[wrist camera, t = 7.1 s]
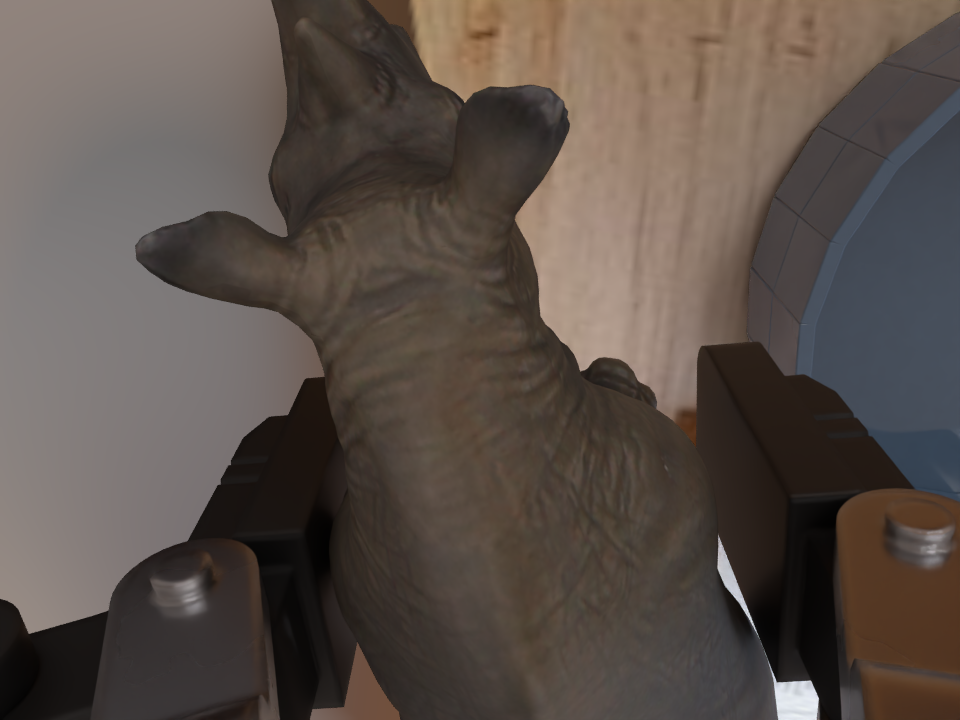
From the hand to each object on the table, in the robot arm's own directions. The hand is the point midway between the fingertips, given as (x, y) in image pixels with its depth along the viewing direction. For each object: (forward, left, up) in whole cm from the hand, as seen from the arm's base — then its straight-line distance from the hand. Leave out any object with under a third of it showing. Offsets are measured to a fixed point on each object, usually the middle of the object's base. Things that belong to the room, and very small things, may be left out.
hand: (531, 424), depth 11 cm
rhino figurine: (0, 0, -1) cm, 1 cm away
